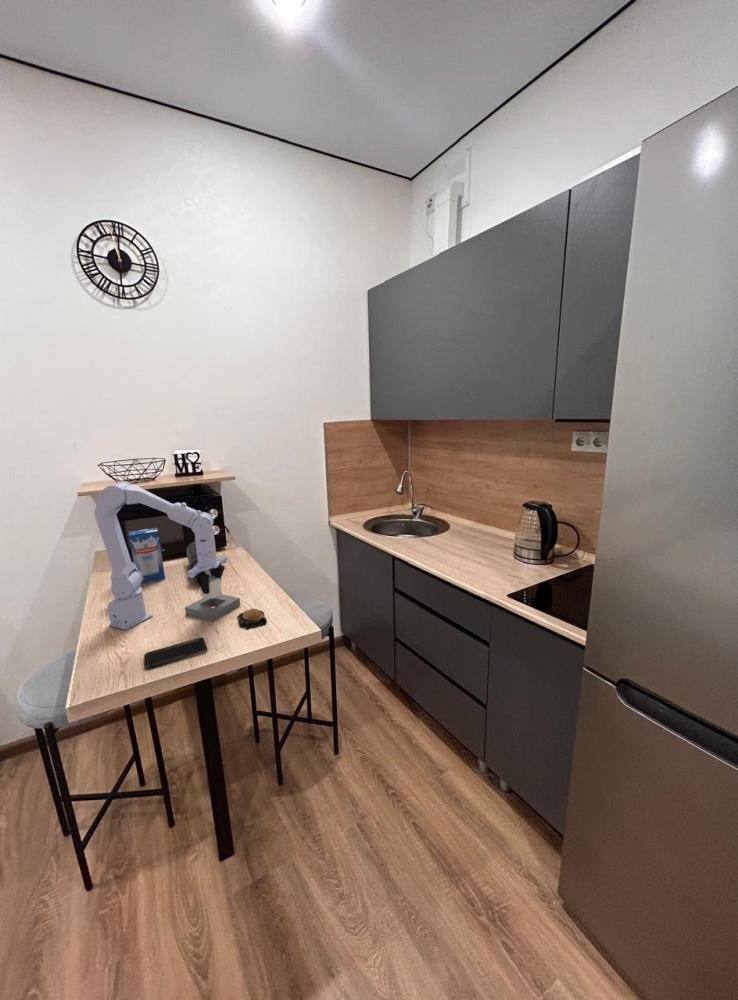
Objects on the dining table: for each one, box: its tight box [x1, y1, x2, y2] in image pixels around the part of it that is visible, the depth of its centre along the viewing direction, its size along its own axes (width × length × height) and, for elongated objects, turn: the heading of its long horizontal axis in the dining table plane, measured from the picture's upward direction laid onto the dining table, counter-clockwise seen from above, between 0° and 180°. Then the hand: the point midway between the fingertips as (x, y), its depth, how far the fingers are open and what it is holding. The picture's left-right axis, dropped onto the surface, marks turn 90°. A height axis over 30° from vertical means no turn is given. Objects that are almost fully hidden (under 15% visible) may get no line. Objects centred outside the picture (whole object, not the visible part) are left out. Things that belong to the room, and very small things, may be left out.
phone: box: [143, 637, 208, 671], centre depth 108 cm, size 8×1×15 cm
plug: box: [199, 576, 223, 599], centre depth 131 cm, size 4×5×6 cm
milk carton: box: [128, 527, 166, 585], centre depth 159 cm, size 10×6×20 cm, turn 121°
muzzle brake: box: [185, 540, 211, 576], centre depth 166 cm, size 10×28×10 cm, turn 27°
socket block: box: [184, 593, 241, 622], centre depth 133 cm, size 12×12×2 cm
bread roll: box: [236, 608, 268, 631], centre depth 125 cm, size 11×8×4 cm
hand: (211, 590), depth 132 cm, fingers closed on plug, 4 cm apart
